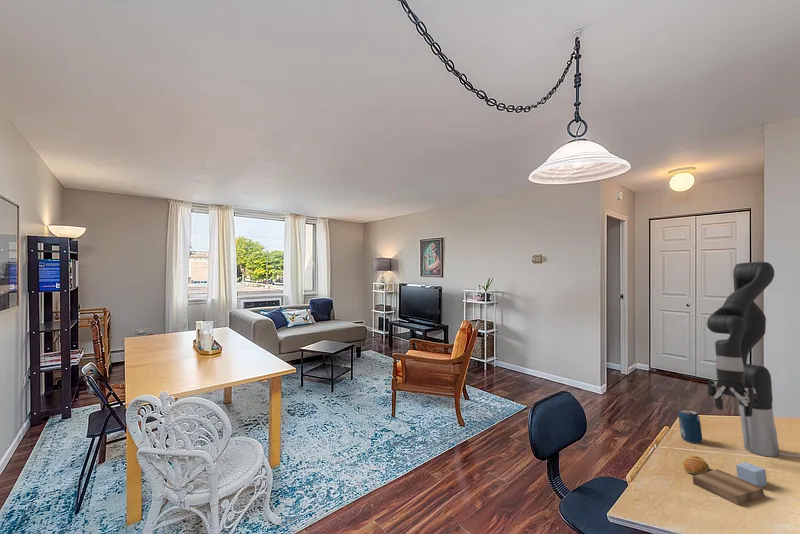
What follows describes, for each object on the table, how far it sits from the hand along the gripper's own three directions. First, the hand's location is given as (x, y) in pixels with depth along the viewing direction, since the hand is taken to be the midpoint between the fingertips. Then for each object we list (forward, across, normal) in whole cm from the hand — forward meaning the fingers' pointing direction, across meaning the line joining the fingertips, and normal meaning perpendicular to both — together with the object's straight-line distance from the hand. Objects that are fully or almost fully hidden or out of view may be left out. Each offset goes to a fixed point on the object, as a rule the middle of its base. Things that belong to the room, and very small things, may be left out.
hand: (733, 412), depth 125 cm
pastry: (+19, +2, +18) cm, 27 cm away
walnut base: (+20, -10, +23) cm, 32 cm away
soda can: (+18, +18, -4) cm, 26 cm away
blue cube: (+18, -10, +11) cm, 24 cm away
